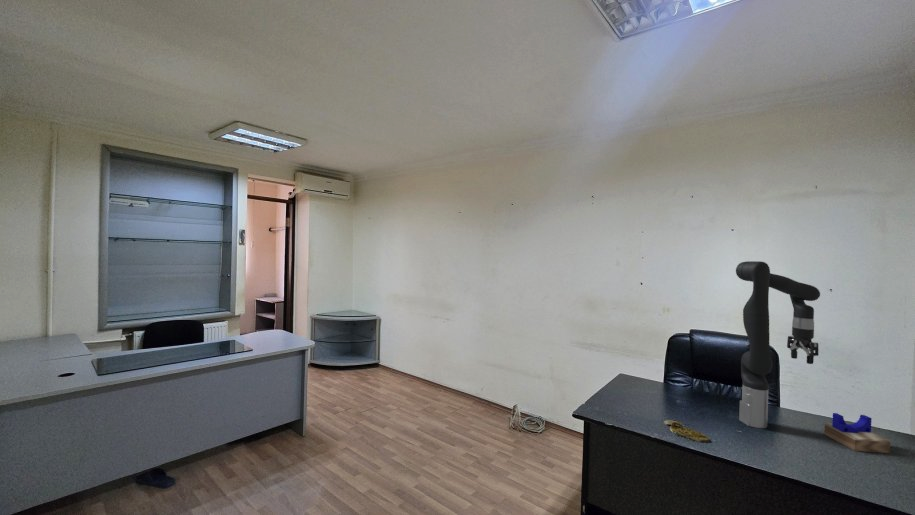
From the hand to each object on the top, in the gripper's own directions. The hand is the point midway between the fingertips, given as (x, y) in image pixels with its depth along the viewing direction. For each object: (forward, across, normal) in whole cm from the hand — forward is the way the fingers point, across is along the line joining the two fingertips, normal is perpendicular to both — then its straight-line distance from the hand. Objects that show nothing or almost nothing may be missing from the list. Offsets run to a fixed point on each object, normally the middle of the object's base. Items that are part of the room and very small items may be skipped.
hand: (801, 360), depth 171 cm
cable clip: (+23, -20, -5) cm, 31 cm away
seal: (+29, -23, +62) cm, 73 cm away
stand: (+28, -21, -5) cm, 35 cm away
